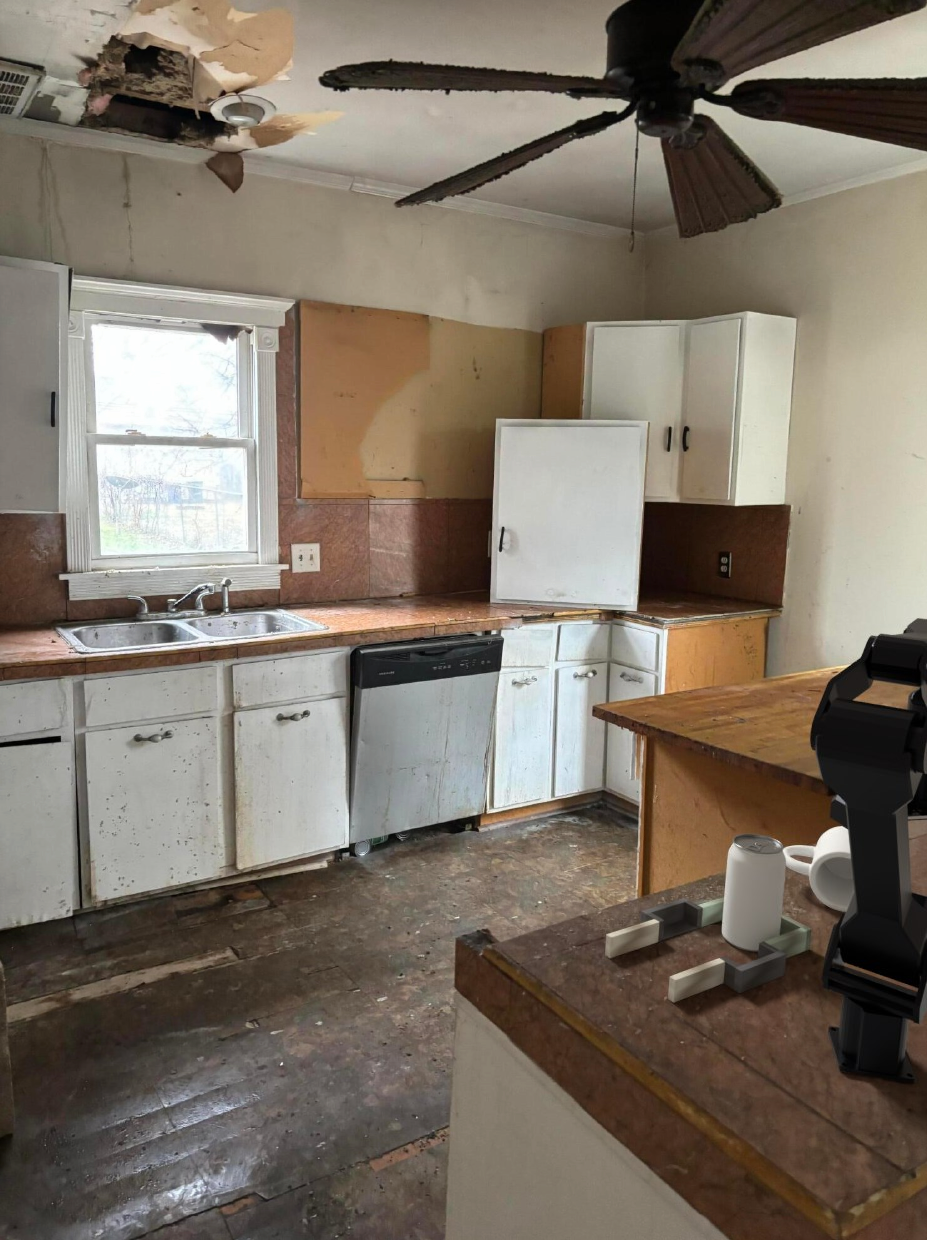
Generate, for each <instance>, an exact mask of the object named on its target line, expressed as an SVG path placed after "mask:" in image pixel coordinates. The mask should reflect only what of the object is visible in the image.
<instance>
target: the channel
mask: <svg viewBox="0 0 927 1240" xmlns="http://www.w3.org/2000/svg"><path fill="white" fill-rule="evenodd" d="M723 907H724V896H723V897H718V898H716V899H713V900H709V901H706V902H704V903H701V904H696V902H693V901H691V900H689V899H688V898H686V897H682V898H680V899H676V900H673V901H670V902H667V903H663V904H661V905H657V906H654V907H650V908H647V909H644V910H641V912H640V923H638V924H635V925H632V926H628V927H625V928H623V929H619V930H616V931H613V932H609V933H606V935H605V949H604V952H605V953H604V955H605V957H606V958H608V959H613V958H615V957H618V956H620V955H624V954H627V953H630V952H632V951H637V950H639V949H642V948H645V947H648V946H650V945H654V944H656V943H660V942H662V941H665V940H668V939H671V938H674V937H677V936H680V935H683V934H687V933H688V932H692V931H695V930H698V929H700V928H704V927H706V926H710V925H712V924H715V923H718V922H720V921H721V922H722V920H723ZM812 930H813V929H812V928H810V927H808V925H807V926H806V925H805V924H803V923H801V922H798V921H797V920H795V919H793V918H791V917H789V916H787V915H785V914H784V913H782V915H781V925H780V935H779V936H777V937H775V938H772V939H769V940H767V941H764V942H761V943H759V950H758V952H757V959H755V960H752V961H750V962H747V963H745V964H741V965H740V964H738V963H737V962H735V961H733V960H732V959H730V958H728V957H727V956H721V957H719V958H715V959H713V960H711V961H708V962H705V963H702V964H699V965H697V966H694V967H692V968H689V969H686V970H684V971H680V972H679V973H676V974H673V975H671V976H669V980H668V981H669V982H668V992H667V993H668V995H667V999H668V1000H669V1001H670V1002H672V1003H673V1004H674V1003H677V1002H680V1001H681V1000H683V999H687V998H690V997H692V996H694V995H697V994H700V993H702V992H705V991H708V990H710V989H713V988H715V987H717V986H719V985H722V984H724V985H725V986H727V987H729V988H730V989H732V990H734V991H735V992H737V993H738V994H742V993H744V992H747V991H749V990H752V989H754V988H757V987H759V986H761V985H764V984H766V983H769V982H772V981H774V980H775V979H776V980H777V979H778V978H779V979H780V978H781V977H783V976H785V974H786V973H785V972H786V962H787V961H786V959H788V958H791V957H793V956H796V955H798V954H801V953H803V952H804V953H805V952H806V951H808V950H810V949H811V938H812Z"/></svg>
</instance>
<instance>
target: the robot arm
mask: <svg viewBox="0 0 927 1240" xmlns="http://www.w3.org/2000/svg"><path fill="white" fill-rule="evenodd" d="M874 681H875V682H882V683H889V684H890V683H891V684H897V685H900V686H901V685H902V686H907V687H908V686H909V687H913V688H914V687H915V688H916V689H914V690H913V691H911V692H910V693H909V695H907V696H908V697H907V704H906V705H907V706H906V708H901V707H895V706H889V705H883V704H878V703H871V702H867V701H866V702H865V701H858V700H855V699H856V698H858V697H859V696H861V695H862V694H864V693H865V692H866V691H868V690H869V689H870V688H871V687H872V686H873V683H874ZM809 741H810V743H809V745H810V747H811V750H812V751H814V752H815V757H816V762H817V766H818V770H819V774H820V778H821V779H822V781H823V782H824V783H825V784H826V785H827V786H828V787H829V788H830V789H831V790H832V791H833V792H834V793H835V794H836V795H834V797H832V799H831V803H830V810H829V818H830V819H832V820H833V821H835V822H836V823H838V824H840V825H841V826H843V827H844V828H846V829H848V835H849V844H850V854H851V864H852V874H853V883H854V894H853V896H852V899H851V901H850V904H849V906H848V909H847V911H846V912H842V913H841V914H840V915H841V916H840V917H839V919H838V922H835V923H833V926H832V929H831V933H830V937H829V941H828V944H827V948H826V952H825V956H824V960H823V967H822V975H821V981H822V989H823V990H826V991H830V992H833V993H837V994H839V995H841V1007H840V1017H839V1023H838V1024H839V1025H838V1026H834V1025H833V1026H831V1025H829V1026H828V1027H827V1033H828V1037H829V1041H830V1043H831V1047H832V1051H833V1054H834V1057H835V1061H836V1064H837V1068H838V1069H839V1070H840V1071H841V1072H843V1073H849V1074H855V1075H860V1076H865V1077H866V1076H867V1077H872V1078H879V1079H883V1080H890V1081H891V1080H892V1081H897V1082H901V1083H902V1082H903V1083H909V1084H914V1083H916V1080H917V1079H916V1078H917V1076H916V1074H915V1071H914V1069H913V1067H912V1064H911V1062H910V1059H909V1057H908V1055H907V1053H906V1048H907V1039H908V1037H907V1036H908V1030H909V1022H910V1021H912V1022H913V1023H914V1024H917V1025H921V1023H922V1022H923V1021H922V1020H923V1019H924V1017H925V1015H926V1013H927V896H926V895H922V894H920V893H919V894H918V893H916V892H913V891H912V875H911V873H912V872H911V856H910V855H911V853H910V836H909V835H910V833H909V832H910V831H909V822H911V821H925V820H926V821H927V618H920V617H918V618H916V619H913V621H912V622H910V623H909V624H908V625H907V626H906V628H905V629H904V630H903V633H898V634H888V633H879V634H878V635H870V636H869V637H868V639H867V641H866V642H865V646H864V649H863V651H862V653H861V655H860V657H859V658H857V660H855V661H853V662H852V663H851V664H850V665H848V666H847V667H846V668H844V669H843V670H842V671H840V672H838V673H837V674H836V675H834V676H833V677H832V678H830V679H829V681H828V682H827V683H826V686H825V689H824V692H823V694H822V696H821V699H820V701H819V704H818V705H817V709H816V711H815V714H814V716H813V719H812V723H811V727H810V733H809ZM845 964H847V965H851V966H852V967H855V968H859V969H860V971H859V970H857V969H855V968H851V967H849V966H846V965H845ZM861 969H862V970H864V971H868V972H870V973H873V974H875V975H879V976H882V977H884V978H887V979H890V980H893V981H896V982H899V983H902V984H905V985H908V986H910V987H912V988H916V989H917V990H914V989H911V988H908V987H905V986H903V985H900V984H898V983H894V982H891V981H888V980H885V979H882V978H880V977H876V976H874V975H871V974H869V973H867V972H866V973H865V972H862V971H861Z"/></svg>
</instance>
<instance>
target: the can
mask: <svg viewBox="0 0 927 1240" xmlns="http://www.w3.org/2000/svg"><path fill="white" fill-rule="evenodd" d="M784 848H785V847H784V845H783V843H782V842H781V841H779V840H777V839H775V838H773V837H770V836H768V835H764V834H763V835H762V834H758V833H741V834H737V835H735V836H734V837H733V838H732V844H731V846H730V848H729V849H728V852H727V861H726V871H725V884H724V885H725V886H724V895H723V897H724V907H723V920H722V921H721V923H722V924H721V934H722V936H723V938H724V940H726V942H727V943H728V944H730V945H731V946H733V947H735V948H737V949H740V950H743V951H746V952H750V953H758V950H759V943H761V942H764V941H767V940H769V939H772V938H775V937H777V936H779V935H780V925H781V915H782V914H783V905H784V904H783V903H784V901H783V900H784V891H785V880H786V879H785V878H786V869H787V866H786V858H785V855H784V853H783V849H784Z"/></svg>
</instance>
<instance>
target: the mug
mask: <svg viewBox="0 0 927 1240" xmlns="http://www.w3.org/2000/svg"><path fill="white" fill-rule="evenodd" d="M783 853H784V855H785V858H786V868H788V869H790V870H792V871H794V872H796V873H798V874H802V875H805V876H808V878H809V885H810V888H811V890H812V892H813V894H814V896H815V897H816V898H817V899H818V900H819V901H820V902H821V903H822V904H824V905H825V906H827V907H829V909H832V910H835V911H839V912H842V913H843V912H846V911H847V909H848V906H849V904H850V901H851V899H852V896H853V894H854V883H853V874H852V864H851V854H850V844H849V835H848V829H846V828H844V827H843V826H842V825H841V826H839V825H838V826H834V827H832V828H829V829H828V830H826V831H825V832H823V833H822V834H821V835H820V837H819V839H818V841H817V842H816V846H812V845H803V844H802V845H799V844H797V845H790V846H785V847H784V849H783ZM791 856H800V857H801V856H803V857H809V858H812V860H811V861H812V862H811V863H808V862H803V861H800V860H797V859H795V858H793V857H791Z"/></svg>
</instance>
